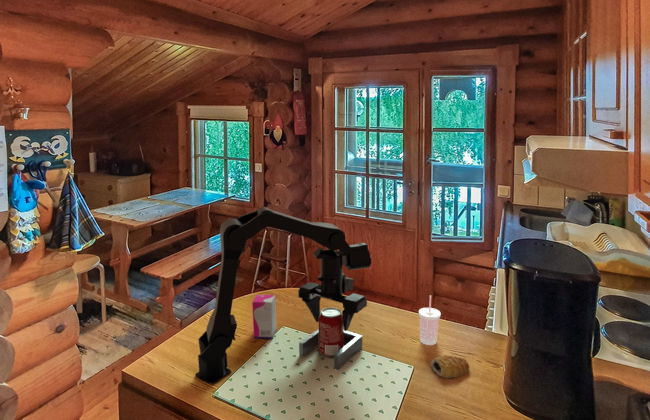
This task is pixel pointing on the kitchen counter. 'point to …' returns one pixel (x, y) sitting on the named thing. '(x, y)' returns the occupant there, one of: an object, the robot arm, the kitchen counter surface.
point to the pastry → (449, 366)
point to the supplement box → (264, 316)
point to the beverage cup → (429, 324)
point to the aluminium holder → (342, 356)
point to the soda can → (330, 331)
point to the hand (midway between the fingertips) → (331, 325)
